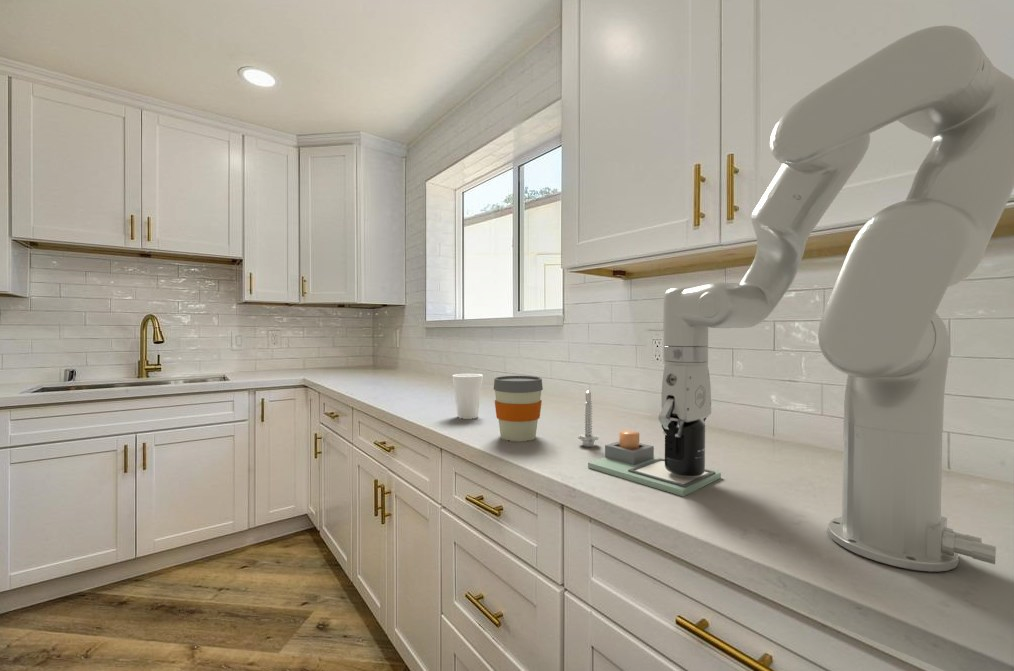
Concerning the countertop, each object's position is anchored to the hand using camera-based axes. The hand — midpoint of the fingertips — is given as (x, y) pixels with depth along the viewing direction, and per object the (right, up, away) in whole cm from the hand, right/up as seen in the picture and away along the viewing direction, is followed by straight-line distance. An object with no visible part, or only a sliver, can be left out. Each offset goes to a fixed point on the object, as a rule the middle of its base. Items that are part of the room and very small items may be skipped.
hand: (684, 453), depth 81 cm
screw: (-13, -5, +25) cm, 28 cm away
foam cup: (-45, -4, +58) cm, 73 cm away
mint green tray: (-4, -5, +5) cm, 8 cm away
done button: (-7, -3, +11) cm, 14 cm away
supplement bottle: (0, -3, 0) cm, 3 cm away
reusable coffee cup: (-29, -5, +33) cm, 44 cm away
